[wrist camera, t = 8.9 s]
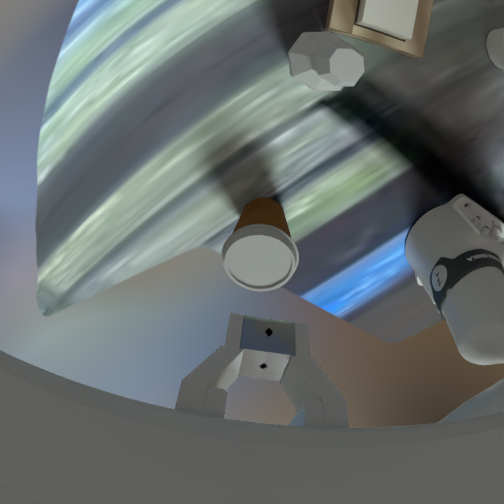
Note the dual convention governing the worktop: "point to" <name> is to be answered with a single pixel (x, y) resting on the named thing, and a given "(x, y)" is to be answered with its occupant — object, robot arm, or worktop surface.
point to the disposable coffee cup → (260, 248)
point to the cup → (496, 47)
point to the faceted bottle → (325, 61)
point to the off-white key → (387, 16)
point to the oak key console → (343, 23)
